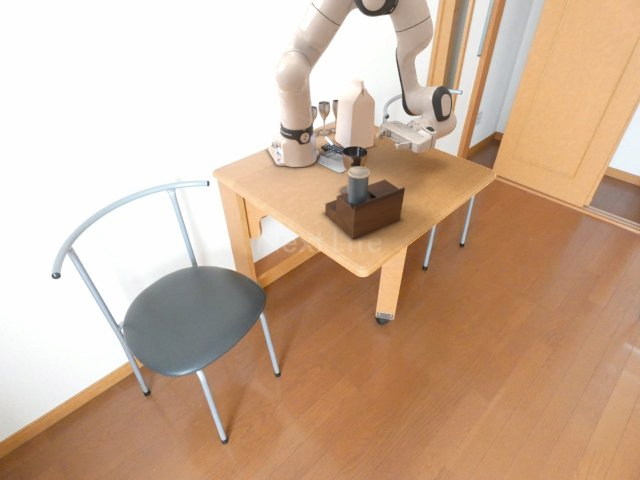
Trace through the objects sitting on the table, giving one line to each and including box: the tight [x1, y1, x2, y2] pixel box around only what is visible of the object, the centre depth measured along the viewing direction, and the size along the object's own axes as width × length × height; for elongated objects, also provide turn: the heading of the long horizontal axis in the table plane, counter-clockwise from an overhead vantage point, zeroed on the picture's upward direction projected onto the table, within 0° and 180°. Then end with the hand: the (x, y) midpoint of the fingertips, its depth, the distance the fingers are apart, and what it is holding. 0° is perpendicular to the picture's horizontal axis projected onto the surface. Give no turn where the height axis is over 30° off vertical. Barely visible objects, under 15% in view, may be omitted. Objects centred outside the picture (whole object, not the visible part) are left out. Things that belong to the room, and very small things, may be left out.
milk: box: [334, 76, 376, 149], centre depth 149 cm, size 12×12×26 cm
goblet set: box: [311, 99, 339, 137], centre depth 163 cm, size 28×6×13 cm, turn 112°
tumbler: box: [347, 166, 371, 205], centre depth 103 cm, size 6×6×9 cm
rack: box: [324, 178, 406, 240], centre depth 113 cm, size 15×18×12 cm
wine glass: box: [341, 146, 369, 194], centre depth 123 cm, size 8×8×15 cm
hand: (386, 141), depth 123 cm, fingers open, 8 cm apart
